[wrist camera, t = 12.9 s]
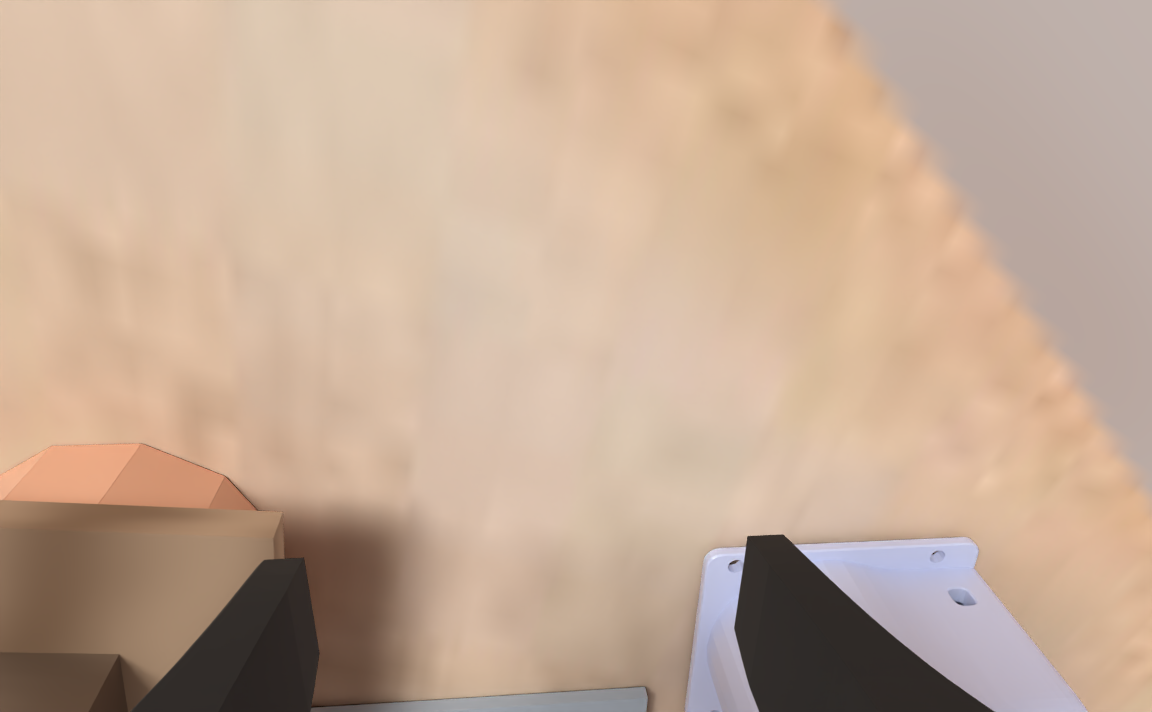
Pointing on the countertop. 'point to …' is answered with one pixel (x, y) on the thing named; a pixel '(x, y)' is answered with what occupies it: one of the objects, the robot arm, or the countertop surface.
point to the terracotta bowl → (118, 479)
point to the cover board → (114, 595)
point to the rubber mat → (518, 703)
